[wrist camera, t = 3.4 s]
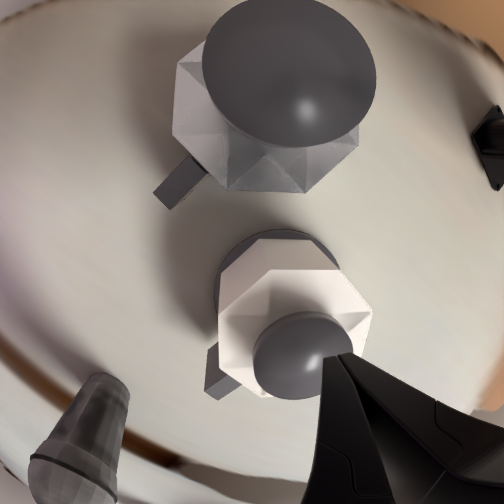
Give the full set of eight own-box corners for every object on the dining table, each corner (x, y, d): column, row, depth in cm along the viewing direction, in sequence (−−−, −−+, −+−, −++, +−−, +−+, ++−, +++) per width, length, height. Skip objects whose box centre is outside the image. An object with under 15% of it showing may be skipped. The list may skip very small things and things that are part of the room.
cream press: (285, 201, 19) (311, 219, 13) (360, 290, 22) (400, 333, 16) (169, 308, 21) (150, 361, 15) (253, 375, 23) (260, 432, 17)
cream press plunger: (289, 256, 18) (315, 300, 12) (334, 306, 19) (369, 358, 13) (230, 307, 19) (231, 367, 13) (280, 350, 20) (295, 411, 14)
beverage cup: (68, 384, 23) (-3, 535, 4) (91, 348, 22) (-3, 538, 3) (124, 422, 25) (85, 579, 6) (156, 393, 24) (118, 592, 5)
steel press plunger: (269, 40, 11) (294, -27, 5) (338, 111, 13) (404, 85, 7) (192, 101, 12) (164, 58, 6) (264, 175, 13) (290, 184, 8)
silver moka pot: (260, 33, 16) (273, -15, 9) (352, 130, 18) (401, 120, 12) (135, 142, 17) (92, 135, 11) (230, 239, 20) (230, 275, 14)
